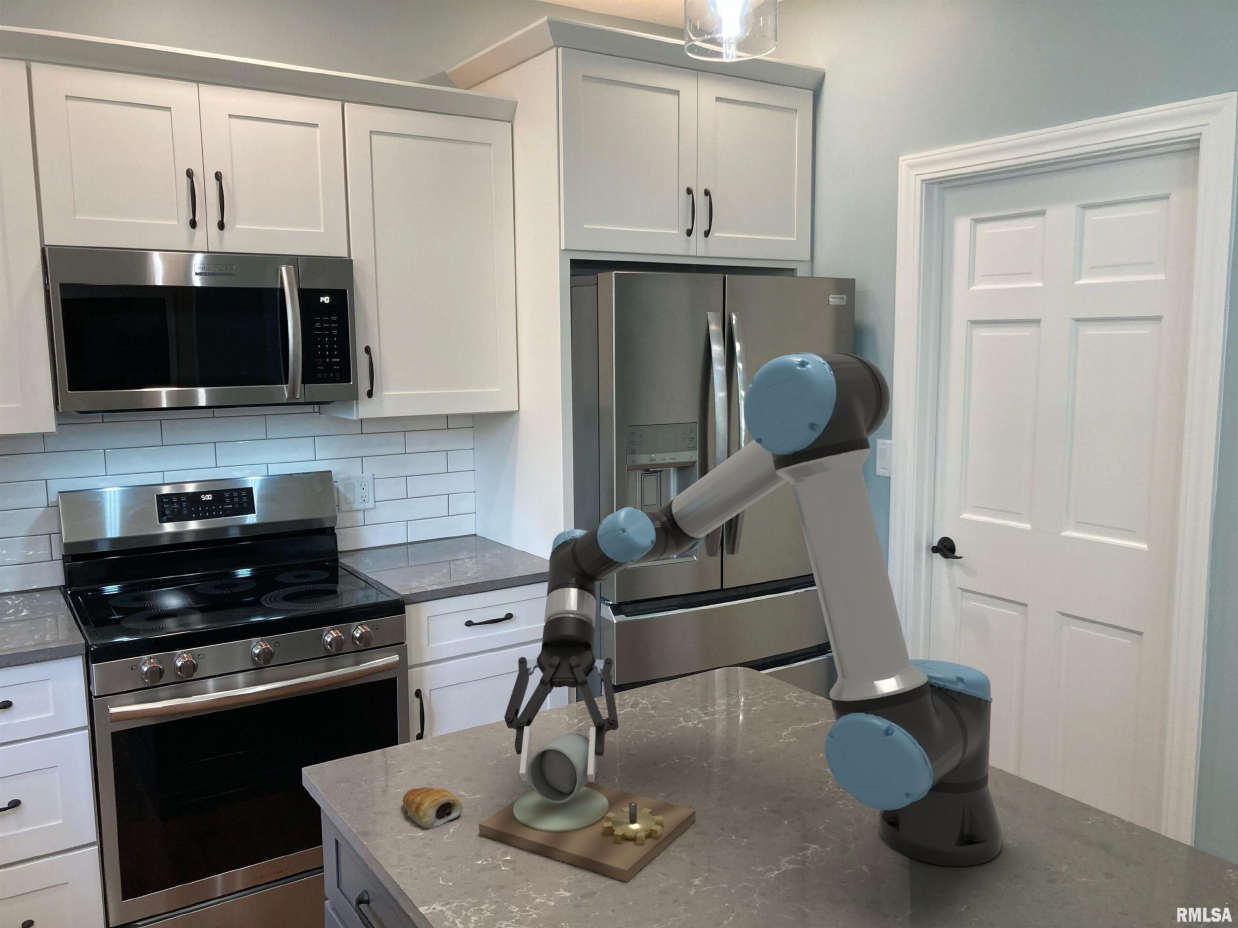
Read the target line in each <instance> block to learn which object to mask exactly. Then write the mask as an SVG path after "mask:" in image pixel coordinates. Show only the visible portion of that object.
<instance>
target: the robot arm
mask: <svg viewBox="0 0 1238 928" xmlns="http://www.w3.org/2000/svg"><path fill="white" fill-rule="evenodd" d="M890 395H891V394H890V389H889V385H888V381H886V378H885V376H884V375H883V373H882V371H881V370H880V369H879V368H878V367H877V365H876V364H874V363H872V362H871V361H869V360H868V359H867V358H864V357H862V356H859V355H856V354H851V353H812V352H806V351H805V352H804V351H801V352H797V353H793V354H787V355H782V356H781V355H780V356H778V357H776V358H773V359H771V360H770V361H768V362H766V363H765V364H763V366H761V367H760V369H758V371H757V372H756V373H755V374H754V376H753V379H752V380H751V382H750V384H749V385H748V387H747V389H746V392H745V396H744V403H743V416H744V417H743V418H744V422H745V425H746V428H747V431H748V432H749V433H748V434H750V435H749V436H751V438H752V440H751V441H750V442H749V443H747V444H746V445H744V446H743V447H742V448H741V449H739V450H737V452H735V453H734V454H732V455H730V456H729V457H728V458H727V459H726V460H724V461H723V462H721V463H720V464H719V465H717V466H716V467H714V468H713V469H712V470H711V471H709V472H707V473H706V474H705V475H703V476H702V477H701V478H700V479H698V480H696V481H695V482H694V483H693V484H691V485H690V486H689V487H687V488H686V489H684V490H683V491H682V492H680V493H679V494H678V495H676V496H675V497H674V498H673V499H671V500H669V501H668V502H667V503H666V504H664V505H663V506H662V507H660V508H657V509H655V510H649V511H644V512H643V511H642V510H640V509H635V508H634V507H633V506H632V507H631V506H628V507H623V508H620V509H619V510H617V511H615V512H613V513H610V514H608V515H607V516H606V518H603V520H602V521H601V522H599V523H598V524H596V525H595V526H593V527H592V528H590V529H589V530H584V529H579V528H573V529H570V530H568V531H567V530H564V531H562V532H560V533H558V534H557V535H556V536H555V537H554V539H553V541H552V546H551V552H550V555H549V559H548V564H549V566H548V567H549V568H548V577H547V578H548V579H547V591H546V592H547V593H546V600H545V608H544V609H545V610H544V618H543V619H544V621H543V622H544V625H543V628H542V629H543V631H542V638H541V639H542V640H541V641H542V642H541V651H540V653H539V655H538V656H537V658H531V659H530V658H529V659H527V658H526V657H524V656H521V657H519V658H518V660H517V663H518V664H517V666H518V673H517V677H516V678H515V683H514V685H513V689H512V692H511V694H510V698H509V702H508V703H507V706H506V709H505V710H506V711H505V714H504V717H503V718H504V722H505V725H506V727H507V728H508V729H513V730H515V740H514V749H515V752H516V755H520V766H519V777H520V776H521V779H522V781H528V772H529V764H530V761H531V752H532V751H531V750H532V743H533V742H532V740H533V733H532V730H531V725H532V723H533V722H534V720H535V718H536V716H537V715H538V713H539V711H540V710H541V707H542V706H543V704H544V703H545V701H546V699H547V698H548V695H549V694H551V693H552V691H553V689H554V688H563V687H567V688H572V689H573V688H574V689H575V688H577V689H578V690H579V693H580V695H581V697H582V699H583V701H584V704H585V707H586V710H587V711H588V714H589V716H590V718H591V721H592V723H593V725H594V726H591V727H589V738H588V739H589V754H588V771H587V775H588V780H589V782H590V783H594V782H595V780H596V779H595V778H596V777H595V776H596V773H595V763H596V756H599V757H600V756H602V757H603V755H604V753H605V746H606V745H605V744H606V742H605V741H606V734H607V732H609V731H616V730H618V729H619V719H618V712H617V706H616V698H615V692H614V687H613V675H614V672H615V670H614V669H615V668H614V661H613V659H612V658H611V657H607V658H605V659H598V658H596V657H595V655H594V645H595V644H594V643H595V628H594V627H595V625H596V611H597V610H596V608H597V593H598V591H597V590H598V585H599V584H600V583H602V582H603V581H606V580H607V579H608V578H610V577H612V576H613V575H615V574H617V573H618V572H620V571H621V570H623V569H626V568H628V567H629V568H630V567H632V566H637V565H640V564H643V563H647V562H651V561H656V560H660V559H663V558H664V559H665V558H668V557H669V558H670V557H673V556H680V555H683V554H687V553H689V552H690V551H693V550H695V549H697V548H698V547H700V546H701V545H702V543H703V542H704V540H705V538H706V535H708V534H710V533H711V532H713V531H715V530H716V529H717V528H718V527H720V526H722V525H723V524H725V523H726V522H728V521H729V520H731V519H732V518H734V517H735V516H737V515H738V514H739V513H741V512H743V511H744V510H745V509H748V507H750V506H752V505H753V504H754V503H757V502H758V501H759V500H761V499H762V498H763V497H765V496H766V495H769V494H770V493H771V492H773V491H774V490H776V489H777V488H778V487H780V486H781V485H783V484H784V483H786V482H788V483H789V484H790V485H791V489H792V492H793V496H794V500H795V503H796V508H797V512H798V516H799V517H798V518H799V521H800V525H801V527H802V528H801V529H802V533H803V536H804V541H805V545H806V549H807V552H808V553H807V554H808V557H809V562H810V566H811V570H812V574H813V579H814V582H815V585H816V591H817V595H818V598H819V604H820V606H821V610H822V615H823V619H824V623H825V627H826V630H827V635H828V639H829V643H830V648H831V652H832V656H833V660H834V665H835V668H836V673H837V679H836V682H835V683H834V684H833V687H832V688H831V689H830V691H829V698H830V703H831V707H832V710H833V716H834V719H835V721H834V722H833V723H832V724H831V726H830V728H829V730H828V732H827V733H828V734H826V737H825V740H824V755H825V760H826V763H827V766H828V769H829V770H830V773H831V775H832V776H833V779H834V780H835V782H836V783H837V784H838V785H839V786H840V788H841V789H842V790H843V791H844V792H846V793H847V794H850V795H851V796H852V797H853V798H854V799H855V800H856V801H857V802H859V803H861V804H862V805H864V806H867V807H869V808H871V809H872V808H873V809H876V810H879V814H878V815H879V819H878V820H879V821H878V830H879V835H880V837H881V839H882V840H883V841H884V842H885V844H886V845H888V846H889V847H890V848H892V849H893V850H894V851H896V852H898V853H900V854H902V855H903V856H906V857H909V858H911V859H914V860H916V861H920V862H924V863H927V864H931V865H937V866H945V867H946V866H947V867H970V866H977V865H980V864H985V863H987V862H989V861H992V860H993V859H995V858H996V857H997V856H998V855H999V853H1000V852H1001V850H1002V827H1001V823H1000V820H999V817H998V814H997V810H996V807H995V805H994V801H993V798H992V794H991V791H990V789H989V769H990V768H989V767H990V739H991V715H992V714H991V713H992V709H991V708H992V703H993V697H992V691H991V690H992V689H991V680H990V678H989V676H987V675H986V674H985V673H984V672H983V671H982V670H979V669H976V668H975V667H972V666H968V665H965V664H960V663H955V662H950V661H943V660H937V659H936V660H935V659H934V660H933V659H923V658H922V659H918V658H917V659H910V657H909V654H908V648H907V644H906V642H905V641H906V640H905V637H904V633H903V629H902V624H901V620H900V617H899V611H898V608H897V604H896V601H895V597H894V593H893V589H892V585H891V580H890V577H889V573H888V567H887V565H886V561H885V556H884V552H883V549H882V545H881V540H880V536H879V532H878V529H877V525H876V521H875V517H874V512H873V508H872V504H871V500H870V497H869V492H868V488H867V484H866V479H865V476H864V473H863V472H864V471H863V465H864V464H865V462H866V460H867V458H868V457H869V456H870V453H871V452H872V450H871V446H870V441H869V438H870V437H871V436H873V435H874V434H875V433H876V432H877V431H878V430H879V429H880V427H881V426H882V424H883V423H884V422H885V420H886V418H887V415H888V413H889V409H890V402H891V399H890V398H891V396H890ZM537 668H538V669H539V670H540V672H541V673H542V676H541V677H540V679H539V683H538V685H537V686H536V687H535V689H534V691H533V693H532V695H531V697H529V700H528V701H527V703H526V705H525V706H524V707H523V710H522V712H521V713H520V711H521V708H522V705H523V701H524V697H525V695H526V692H527V688H528V685H529V682H530V681H529V680H530V676H532V675H533V674H534V673H535V670H536V669H537ZM594 669H596V670H597V672H598V673H597V674H598V675H599V676H600V677H602V683H603V690H604V697H605V703H606V710H607V716H608V717H606V718H604V717H603V715H602V714H601V711H600V709H599V706H598V704H597V701H596V700H595V697H594V694H593V692H592V690H591V687H590V685H589V683H588V679H587V678H588V677H589V675H591V673H592V672H593V671H594Z"/></svg>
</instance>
